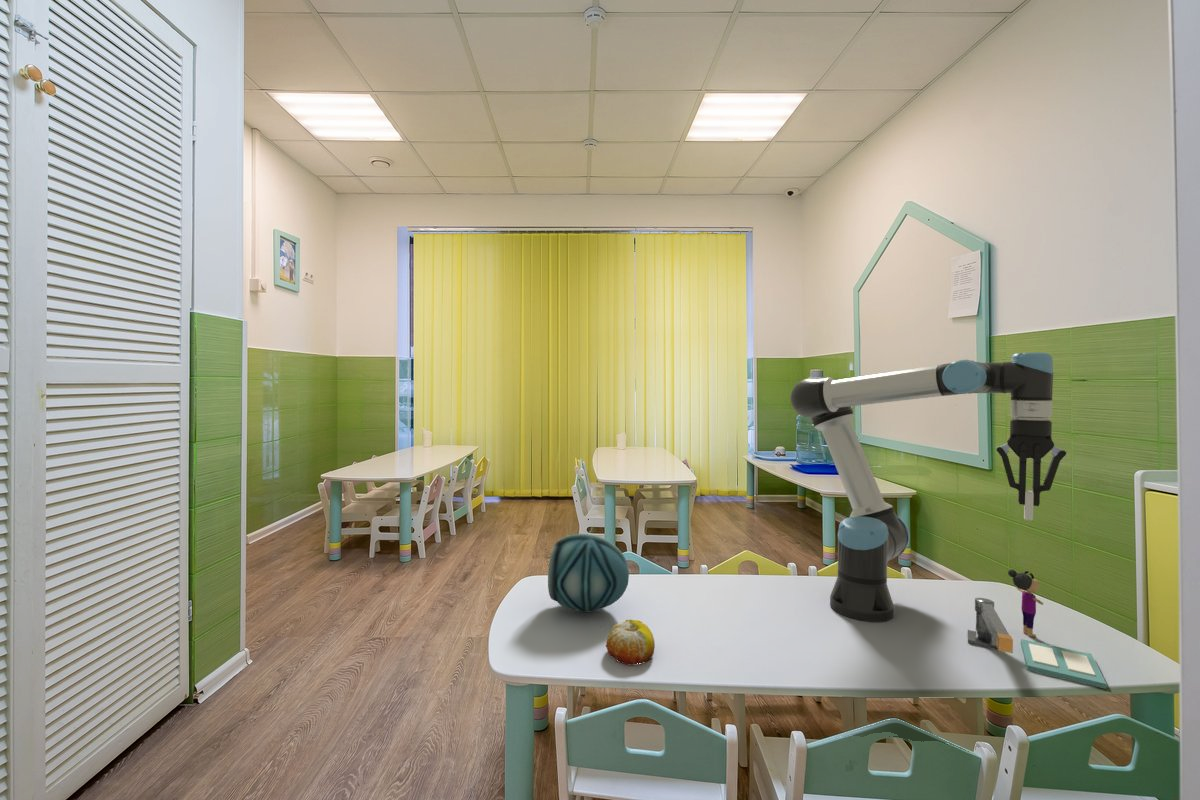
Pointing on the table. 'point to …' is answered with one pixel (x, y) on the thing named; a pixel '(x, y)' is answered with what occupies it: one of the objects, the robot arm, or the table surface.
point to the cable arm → (994, 624)
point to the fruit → (631, 642)
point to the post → (981, 634)
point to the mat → (1062, 663)
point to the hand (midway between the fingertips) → (1028, 518)
